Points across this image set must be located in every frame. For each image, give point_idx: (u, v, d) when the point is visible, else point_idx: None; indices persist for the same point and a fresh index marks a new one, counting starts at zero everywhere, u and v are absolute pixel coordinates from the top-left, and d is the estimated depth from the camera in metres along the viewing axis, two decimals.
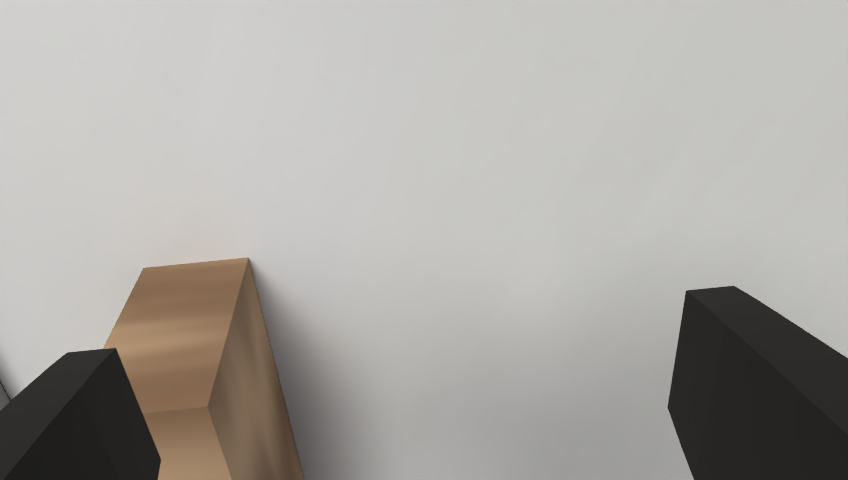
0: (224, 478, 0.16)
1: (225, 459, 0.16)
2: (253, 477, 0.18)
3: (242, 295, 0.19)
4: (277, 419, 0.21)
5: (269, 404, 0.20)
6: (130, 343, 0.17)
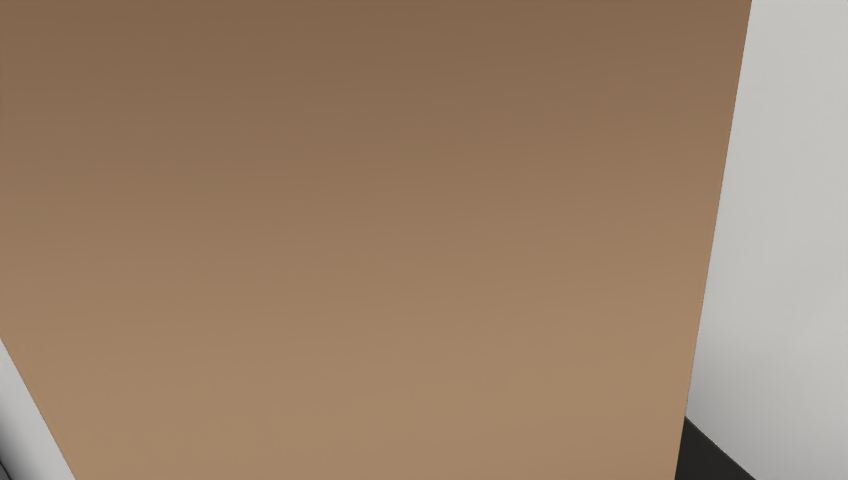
0: (659, 400, 0.03)
1: (701, 295, 0.03)
2: None
3: None
4: None
5: None
6: None
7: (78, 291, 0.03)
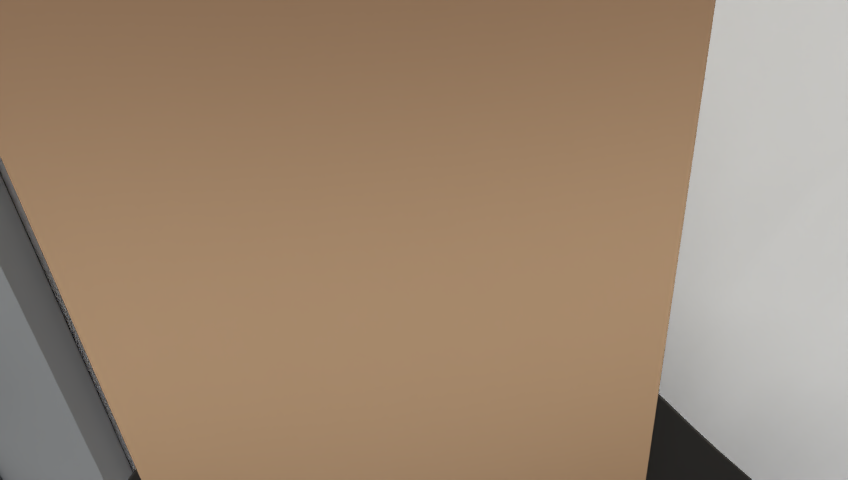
0: (645, 307, 0.04)
1: (684, 202, 0.03)
2: None
3: None
4: None
5: None
6: None
7: (107, 184, 0.03)
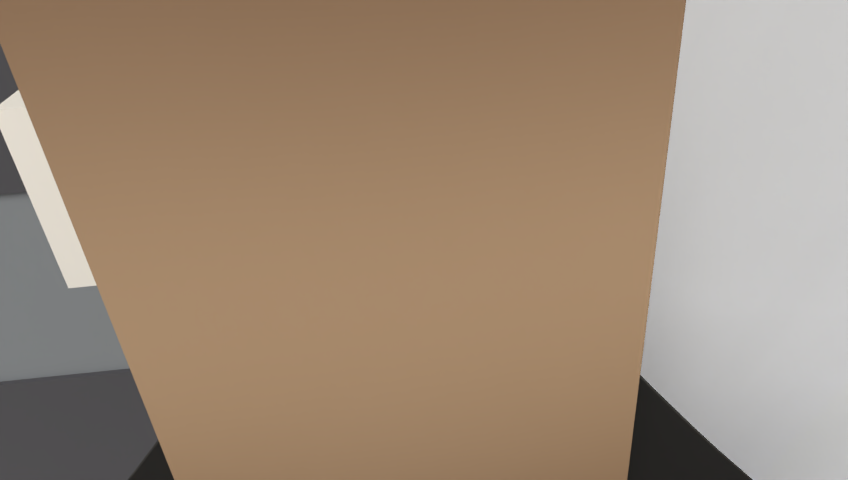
0: (627, 280, 0.04)
1: (661, 182, 0.04)
2: None
3: None
4: None
5: None
6: None
7: (134, 164, 0.03)
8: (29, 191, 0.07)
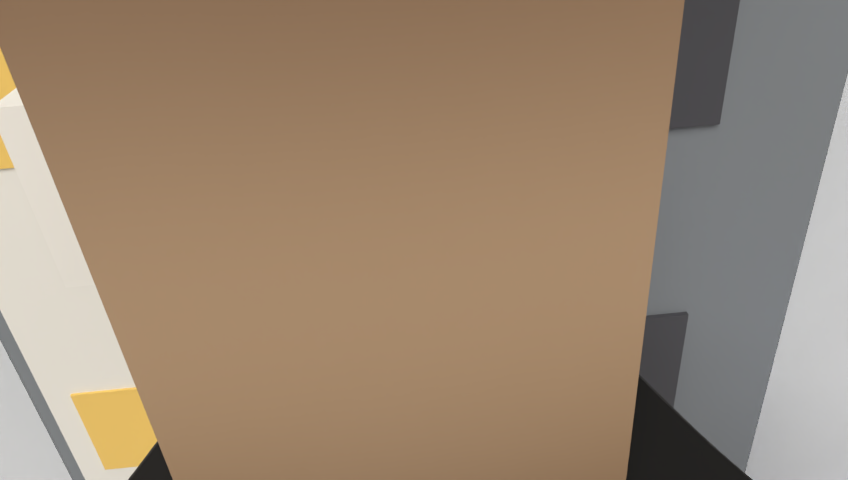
0: (626, 280, 0.04)
1: (660, 182, 0.04)
2: None
3: None
4: None
5: None
6: None
7: (132, 163, 0.03)
8: (26, 190, 0.07)
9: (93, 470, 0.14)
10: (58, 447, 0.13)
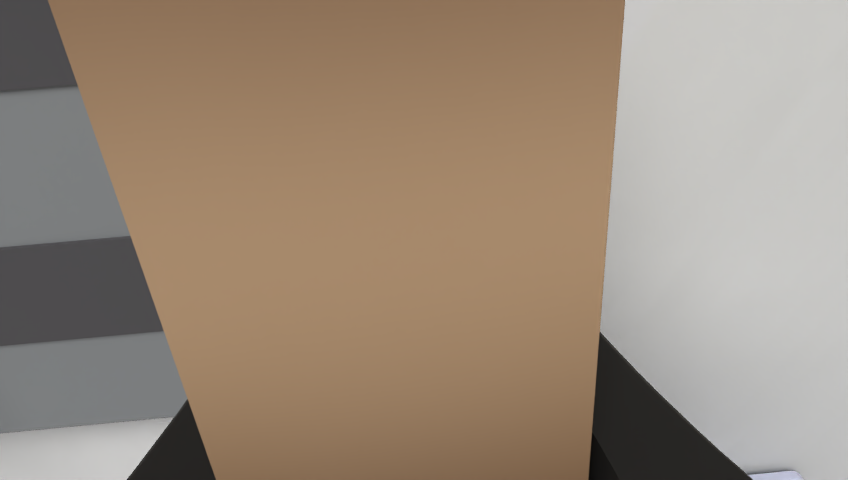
0: (585, 229, 0.04)
1: (612, 142, 0.04)
2: None
3: None
4: None
5: None
6: None
7: (163, 124, 0.04)
8: None
9: None
10: None
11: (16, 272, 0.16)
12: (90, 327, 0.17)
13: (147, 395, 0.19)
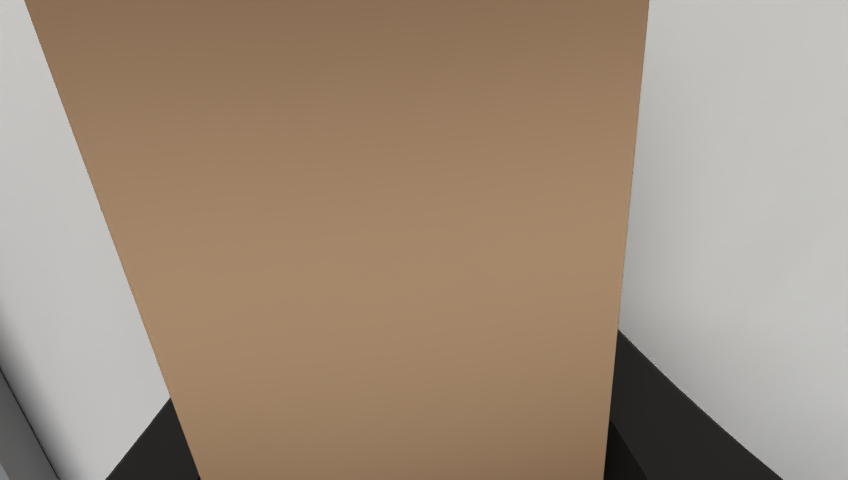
0: (601, 259, 0.04)
1: (631, 169, 0.04)
2: None
3: None
4: None
5: None
6: None
7: (156, 152, 0.04)
8: None
9: None
10: None
11: None
12: None
13: None
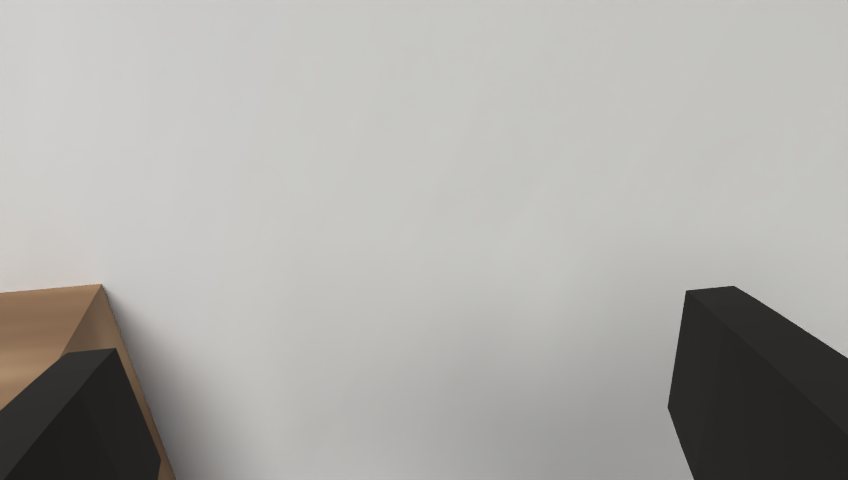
0: None
1: None
2: None
3: (86, 325, 0.18)
4: None
5: None
6: None
7: None
8: None
9: None
10: None
11: None
12: None
13: None
